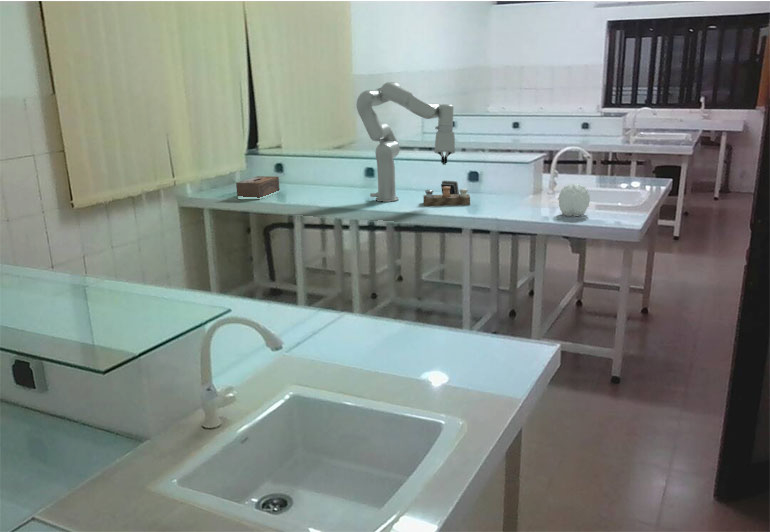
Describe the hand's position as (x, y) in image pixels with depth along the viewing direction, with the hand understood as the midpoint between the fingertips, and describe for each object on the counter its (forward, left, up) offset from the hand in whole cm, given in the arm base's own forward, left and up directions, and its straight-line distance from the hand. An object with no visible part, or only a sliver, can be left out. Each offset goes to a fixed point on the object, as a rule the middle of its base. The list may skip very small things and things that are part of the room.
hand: (444, 164), depth 343 cm
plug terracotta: (+1, -4, -18) cm, 19 cm away
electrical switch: (+4, +16, -21) cm, 26 cm away
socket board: (+1, -4, -20) cm, 21 cm away
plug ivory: (+10, -4, -20) cm, 23 cm away
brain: (+59, -39, -21) cm, 74 cm away
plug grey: (-8, -4, -20) cm, 22 cm away
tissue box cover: (-108, +36, -21) cm, 116 cm away
